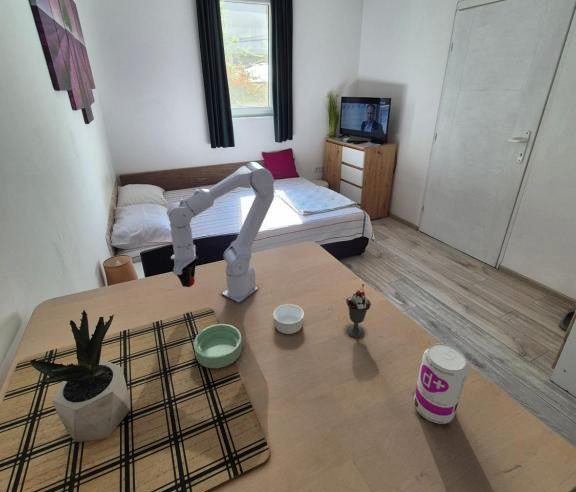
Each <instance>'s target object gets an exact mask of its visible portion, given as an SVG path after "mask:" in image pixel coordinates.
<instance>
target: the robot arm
mask: <svg viewBox="0 0 576 492" xmlns="http://www.w3.org/2000/svg"><path fill="white" fill-rule="evenodd" d="M274 183H275V178H274V176H273V174H272V172H271V171H270V170H269V169H268V168H265V167H263V166H262V165H261V164H260V163H258V162H256V161H251V162H249V163H246V165H243V166H240V167H239V168H238V169H236V170H235V171H234V172H232V174H229V175H227V177H225V178H224V179H222V180H221V181H219V182H217V183H216V184H215V185H213V186H212V187H210V188H209V189H206V188H201V189H198V188H196V189H194V190H193V193H192V194H190V195H189V196H187V197H186V198H180V199H179V200H178V202H173V203H171V204H170V205H169V206H168V208H167V211H166V214H167V217H168V221H169V222H170V223H169V227H170V236H171V242H172V247H173V254H172V255H171V256H170V260H173V261H174V265H173V267H172V272H173V275H174V276H175V275H176V277H177V278H178V279H179V281H180V283H181V285H182V287H183V288H191V287H190V284H191V275H192V276H193V277H194V278H195V275H196V267H197V262H198V259H199V255H198V254H197V255H196V251H197V249H196V248H197V247H196V245H195V244H194V239H193V232H192V231H193V230H192V227H191V221H192V219H193V218H195V217H197V216H198V215H199V214H202V213H203V212H205V211H207V210H208V209H210V208H211V207H213V206H214V203H215V201H216V200H217V199H219V198H220V197H222V196H224V195H226V194H228V193H230V192H232V191H234V190H236V189H238V188H245V189H246V188H247V189H251V188H252V191H253V192H254V195H255V196H254V199H253V201H252V203H251V206H250V208H249V210H248V212H247V214H246V217H245V219H244V221H243V224H242V226H241V228H240V230H239V233H238V234H237V237H236V239H235V240H233V241H231V243H230V245H229V246H228V247H227V248H226V249H225V251H224V252H223V255H222V257H223V260H224V261H225V263H226V266H225V277H226V280H225V281H226V290H224V291H222V292H221V295H223V296H225V297H227V298H229V299H231V300H233V301H235V302H236V303H241V302H242V301H244V300H245V299H246V298H247V297H249V296H250V295H252V294H253V293H254V292H256V291H257V290H258V287H257V285H256V271H255V268H254V267H253V266H252V265H251V264H250V261H251V260H252V246H253V244H254V242H255V240H256V239H257V236H258V233H259V231H260V229H261V227H262V224H263V222H264V220H265V218H266V216H267V214H268V212H269V210H270V208H271V206H272V204H273V201H274V199H275V191H274Z"/></svg>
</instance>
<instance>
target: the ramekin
mask: <svg viewBox="0 0 576 492" xmlns="http://www.w3.org/2000/svg"><path fill="white" fill-rule="evenodd" d="M272 316H273V319H274V325H275V328H276V330H277V331H278V332H280V333H282V334H284V335H285V334H287V335H292V334H295V333H298V332H299V331H300V330H301V329H302V326H303V323H304V317H305V312H304V310H303V309H302V307H300V306H298V305H297V304H292V303H285V304H281V305H279V306H277V307H276V308H275V309H274V311H273V314H272Z"/></svg>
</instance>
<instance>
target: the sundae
mask: <svg viewBox="0 0 576 492" xmlns="http://www.w3.org/2000/svg"><path fill="white" fill-rule="evenodd" d="M364 286H365V284H364V283H363V284H361V288H360V290H356V292H354V293H352V295H351V296H350V297H347V298H346V300H345V302H346V303H345V304H346V306H347V307H348V316H349V319H350V321H351V322H352V323H353V324H352V325H349V326H348V327H347V328H346V333H347V335H348V336H350V337H352V338H357V339H358V338H362V337H363V336H364V335H365V331H364V328H363V327H361V326H359V324H361V323H363V322H364V321H365V318H366V315H367V311H368V310H370V308H371V305H372V302H371V301H370V300H369V299H368V297H367V296H366V293H365V291H364V290H365V289H363V288H364ZM361 290H362V291H361Z"/></svg>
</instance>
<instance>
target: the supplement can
mask: <svg viewBox="0 0 576 492" xmlns="http://www.w3.org/2000/svg"><path fill="white" fill-rule="evenodd" d="M468 370H469V367H468V364H467V360H466V357H465V355H464V354H463V353H462V352H461V351H460V350H459V349H457V348H456V347H455V346H452V345H450V344H446V343H438V342H437V343H433V344H431V345H430V346H429V347H428V348H427V349H426V350H424V352H423V355H422V359H421V364H420V368H419V372H418V377H417V382H416V387H415V391H414V396H413V405H414V406H415V409H416V410H417V412H418V413H419V414H420V415H421V416H422V417H423V418H424V419H426V420H427V421H430V422H432V423H435V424H438V425H439V424H441V425H442V424H443V425H446V424H448V423H450V422H451V421H452V420H454V418H455V415H456V411H457V409H458V405H459V402H460V398H461V394H462V392H463V388H464V385H465V381H466V378H467V376H468Z"/></svg>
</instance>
